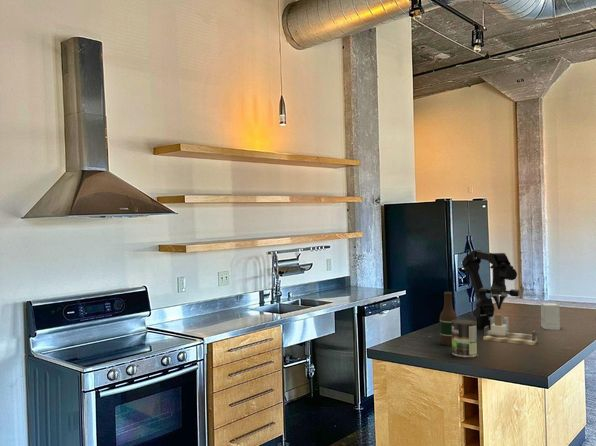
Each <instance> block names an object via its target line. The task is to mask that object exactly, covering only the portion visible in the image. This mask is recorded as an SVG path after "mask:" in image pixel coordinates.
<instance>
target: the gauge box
mask: <svg viewBox="0 0 596 446" xmlns="http://www.w3.org/2000/svg"><path fill="white" fill-rule="evenodd" d="M490 319H491V325H492V324H493V323H495V315H493V317H490ZM503 324H506V325H507V331H506V332H509V331H510V330H509V316H503ZM509 333H510V332H509Z"/></svg>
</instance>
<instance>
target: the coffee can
mask: <svg viewBox="0 0 596 446" xmlns="http://www.w3.org/2000/svg"><path fill="white" fill-rule="evenodd" d="M451 323H452V346H451V354H452V355H453V356H455V357H460V358H474V357H477V356H478V351H477V347H478V346H477V344H478V343H477V341H478V340H477V329H476V327H477V320H473V319H467V318H457V319H454V320H452V321H451Z"/></svg>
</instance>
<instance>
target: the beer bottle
mask: <svg viewBox="0 0 596 446" xmlns="http://www.w3.org/2000/svg"><path fill="white" fill-rule="evenodd" d="M443 295H444V297H443V298H444V299H443V300H444V301H443V309H442V311H441V312H440V314H439V340H440V341H439V342H440V344H441V345H443V346H447V347H448V346H449V347H450V346H451V347H452V323H451V321H452V320H454V319H458V316H457V314H456V312H455V310H454V308H453V297H452V296H453V293H452V291H444V292H443Z"/></svg>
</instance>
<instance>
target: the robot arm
mask: <svg viewBox="0 0 596 446" xmlns="http://www.w3.org/2000/svg"><path fill="white" fill-rule="evenodd" d="M482 260H485V261H487V262H488V263H489V264H491V265H490V267H489V268H490V269H492V284H491V286H490V289H489V287H484V285H483V283H482V279H481V276H480V273H479V271H480V267H481V266H480V264H481V263H482ZM461 265H462V267H463V269H464V272H466V273H467V274H468V275H469V278H470V282H471V285H472V287H473V290H474V291H473V292H474V294H475V297H476V303H475V309H474V310H473V312H472V314H473V317H475V318H476V322H477V324H476V330H477V329H478V330H484V327H486V326H489V330H491V318H492V317H493V316H494V315H495V305H496V307H497V309H498V310H501V308H502V305H503V302H504V301H505V299H506V298H507V297H508V296H509V295H510V297H514V298H516V297H517V298H519V297H520V296H521V291H520V289H516V288H515V289H512V288H511V289H509V290H507V285H506V280H507V281H514V280H515V279H517V276H518V273H517V271H516V269H514V266H513V265H512V264H511V262H510V260H509V258H508V256H507V254H506V253H505V252H496V253H495V252H489V251H484V250H481V249H474V250H471V252H469V254H467V255H466V256H465V257H464V258H463V260H462V262H461ZM487 294H490V297H491V298H489V297H487ZM492 298H493V299H492ZM493 300H494V301H495V305H494V302H493Z"/></svg>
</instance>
